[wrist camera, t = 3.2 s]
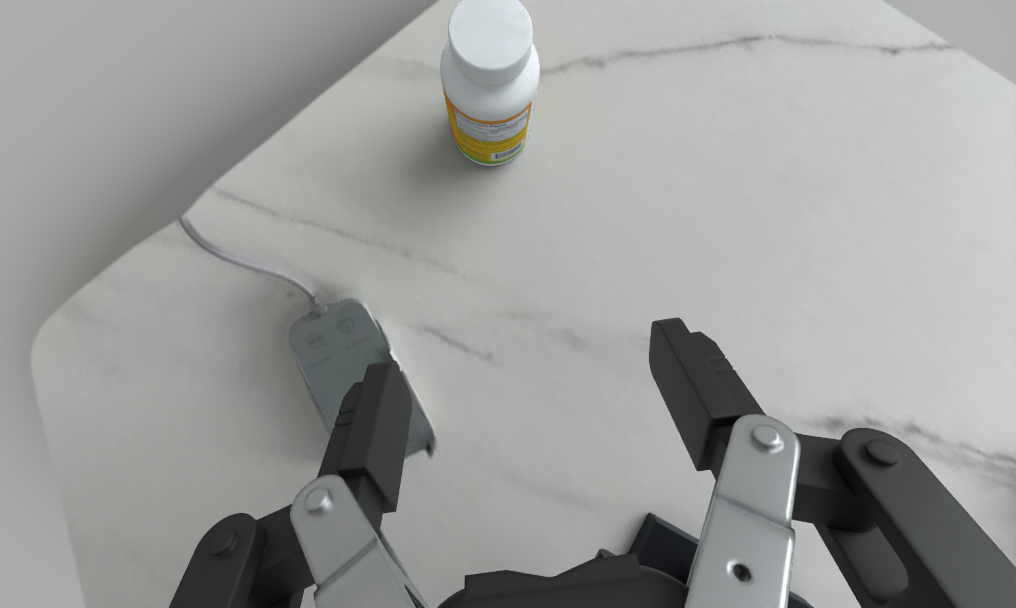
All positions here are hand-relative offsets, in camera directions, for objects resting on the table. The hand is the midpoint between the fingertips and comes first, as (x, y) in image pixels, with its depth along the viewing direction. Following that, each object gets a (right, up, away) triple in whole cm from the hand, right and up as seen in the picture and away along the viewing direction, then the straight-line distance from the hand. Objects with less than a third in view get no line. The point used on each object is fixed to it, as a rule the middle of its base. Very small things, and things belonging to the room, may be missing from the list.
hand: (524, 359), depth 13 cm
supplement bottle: (-2, +14, +16) cm, 21 cm away
